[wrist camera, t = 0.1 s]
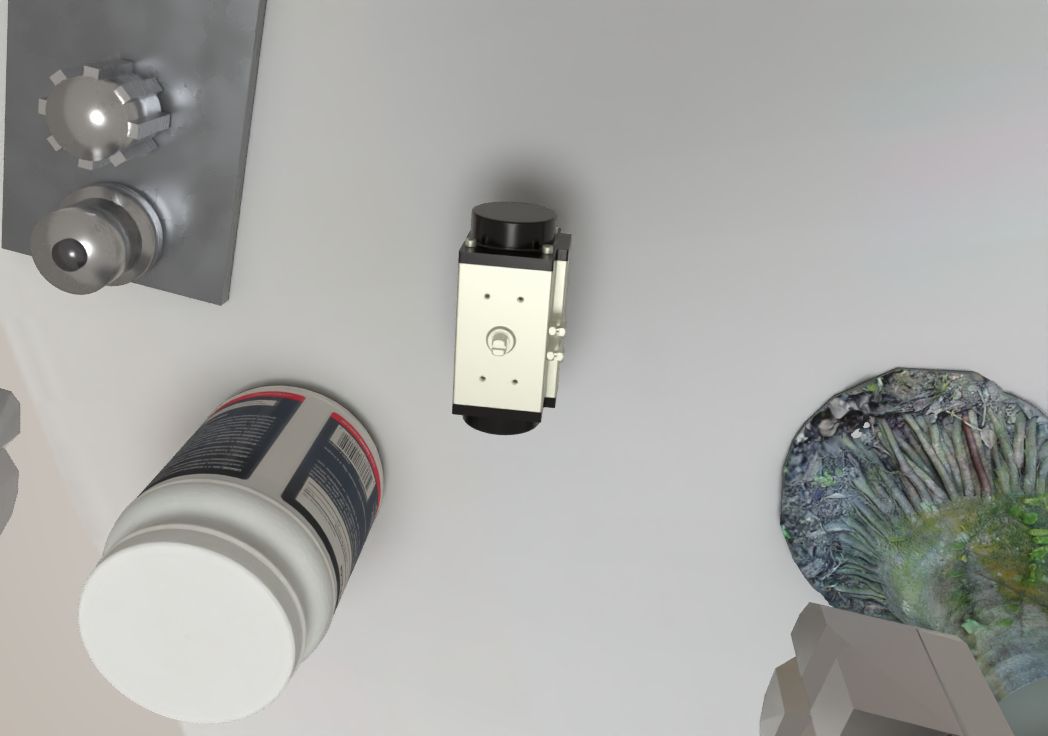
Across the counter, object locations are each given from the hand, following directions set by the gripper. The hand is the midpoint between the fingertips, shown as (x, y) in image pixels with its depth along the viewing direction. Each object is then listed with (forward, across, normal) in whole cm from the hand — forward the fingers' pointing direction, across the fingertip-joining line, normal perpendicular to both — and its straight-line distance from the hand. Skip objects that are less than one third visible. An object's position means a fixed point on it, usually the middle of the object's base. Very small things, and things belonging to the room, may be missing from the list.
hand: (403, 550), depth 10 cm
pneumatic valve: (+48, 0, +12) cm, 50 cm away
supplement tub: (+48, +12, +29) cm, 58 cm away
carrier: (+48, +25, +8) cm, 55 cm away
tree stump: (+48, -29, +20) cm, 60 cm away
